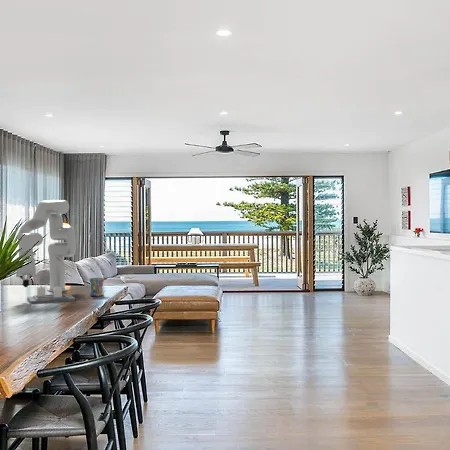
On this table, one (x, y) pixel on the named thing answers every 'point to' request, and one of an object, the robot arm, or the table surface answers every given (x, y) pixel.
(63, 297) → the switch bank
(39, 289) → the tab
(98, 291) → the mug
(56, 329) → the table surface
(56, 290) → the tab
